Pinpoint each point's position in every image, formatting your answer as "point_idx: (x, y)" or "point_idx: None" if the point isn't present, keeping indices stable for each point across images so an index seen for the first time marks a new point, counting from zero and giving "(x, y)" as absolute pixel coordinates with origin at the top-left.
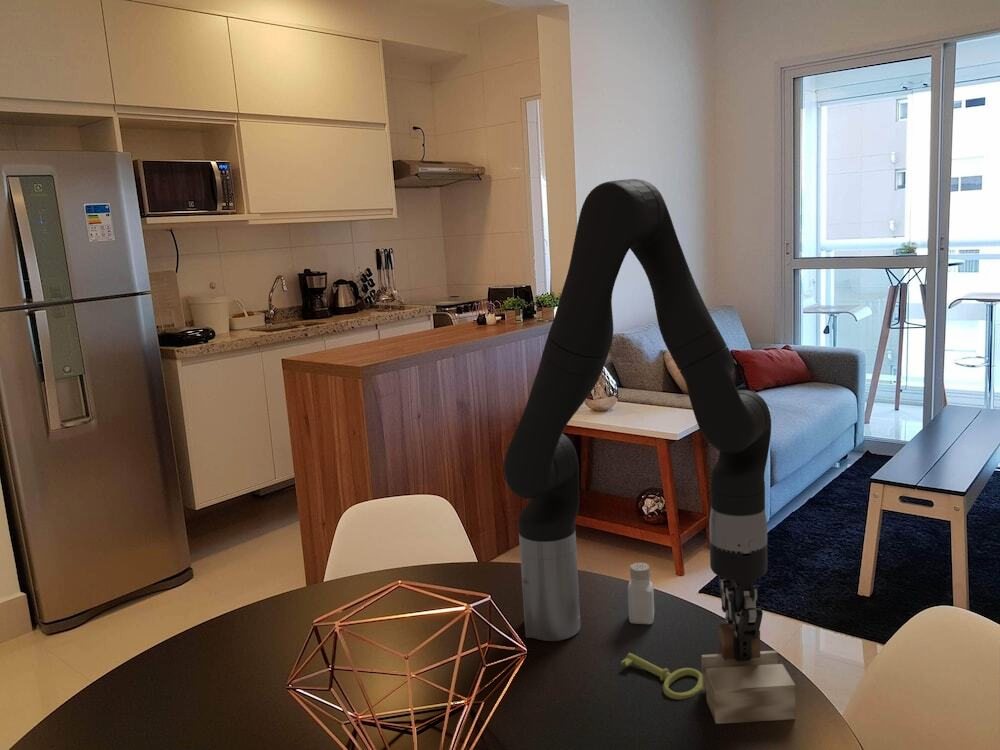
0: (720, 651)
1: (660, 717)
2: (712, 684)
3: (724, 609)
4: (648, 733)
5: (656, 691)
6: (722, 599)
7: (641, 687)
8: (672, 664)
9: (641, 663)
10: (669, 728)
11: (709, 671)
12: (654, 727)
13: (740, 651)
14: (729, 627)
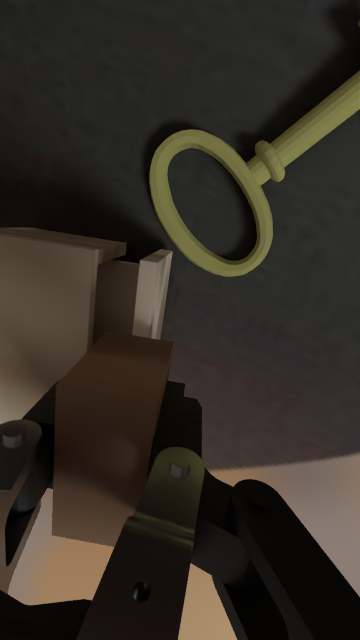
0: (157, 340)
1: (77, 75)
2: (1, 234)
3: (233, 501)
4: (6, 4)
5: (206, 109)
6: (185, 588)
7: (241, 62)
8: (328, 216)
9: (346, 83)
10: (24, 86)
11: (73, 255)
12: (33, 36)
13: (43, 397)
14: (113, 436)
